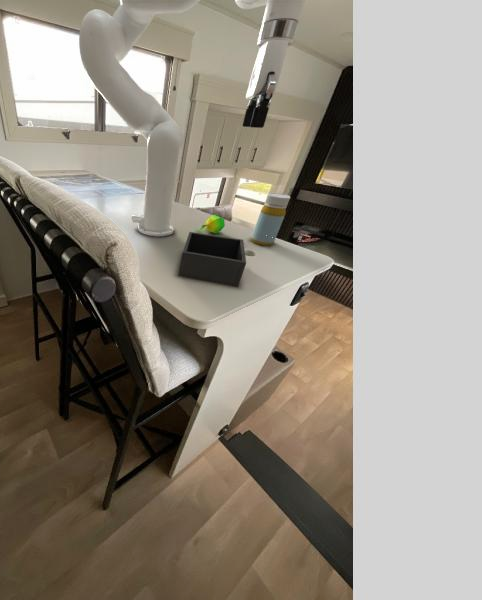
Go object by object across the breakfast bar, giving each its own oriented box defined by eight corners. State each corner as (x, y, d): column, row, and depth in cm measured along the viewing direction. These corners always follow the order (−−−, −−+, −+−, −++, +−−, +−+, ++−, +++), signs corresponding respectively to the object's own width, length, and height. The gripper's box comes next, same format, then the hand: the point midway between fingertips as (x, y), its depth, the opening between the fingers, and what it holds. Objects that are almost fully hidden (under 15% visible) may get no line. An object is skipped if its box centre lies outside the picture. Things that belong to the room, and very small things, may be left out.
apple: (225, 210, 88) (205, 212, 84) (231, 226, 87) (211, 229, 83) (212, 221, 94) (193, 223, 91) (218, 236, 93) (199, 239, 90)
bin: (178, 275, 64) (182, 252, 60) (185, 252, 76) (189, 231, 72) (237, 287, 61) (246, 262, 57) (236, 261, 72) (243, 239, 68)
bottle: (275, 247, 81) (295, 199, 73) (252, 244, 82) (269, 197, 74) (270, 239, 87) (287, 193, 78) (249, 237, 88) (264, 191, 79)
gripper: (250, 45, 65) (232, 126, 75) (270, 24, 51) (244, 127, 61) (281, 45, 64) (258, 127, 74) (309, 24, 50) (276, 128, 60)
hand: (251, 127), depth 67 cm, fingers open, 9 cm apart
